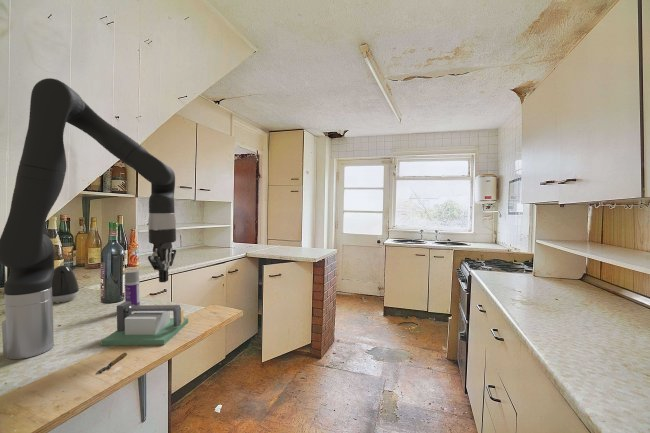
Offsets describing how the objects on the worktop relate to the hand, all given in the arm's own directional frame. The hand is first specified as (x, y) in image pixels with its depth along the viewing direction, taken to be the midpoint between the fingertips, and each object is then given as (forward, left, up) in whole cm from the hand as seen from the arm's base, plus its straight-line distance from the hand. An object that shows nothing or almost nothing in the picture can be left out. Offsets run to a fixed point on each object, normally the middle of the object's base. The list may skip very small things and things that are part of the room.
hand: (163, 281), depth 92 cm
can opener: (-4, -18, -17) cm, 25 cm away
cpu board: (-5, 0, -17) cm, 17 cm away
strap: (-4, 0, -14) cm, 14 cm away
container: (-23, +21, -17) cm, 35 cm away
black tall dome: (-58, +31, -17) cm, 68 cm away
